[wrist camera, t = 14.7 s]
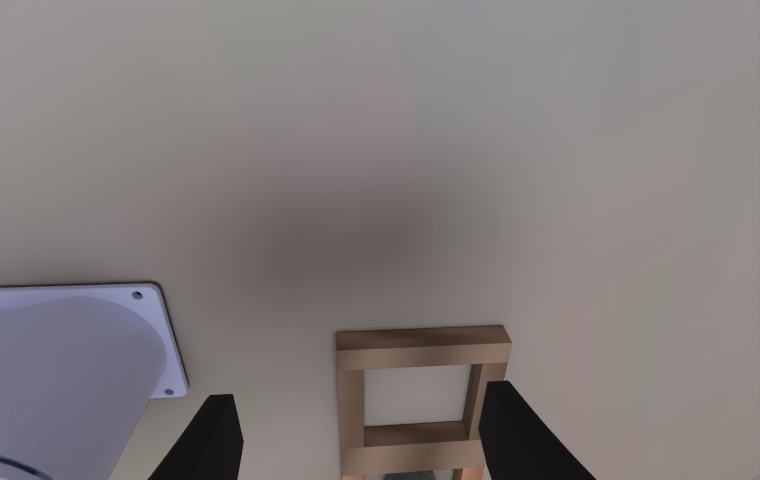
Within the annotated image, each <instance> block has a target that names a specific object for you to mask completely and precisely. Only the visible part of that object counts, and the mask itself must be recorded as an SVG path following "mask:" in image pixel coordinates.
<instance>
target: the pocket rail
mask: <svg viewBox="0 0 760 480" xmlns="http://www.w3.org/2000/svg"><path fill="white" fill-rule="evenodd" d="M511 345H512V342H511V340H510V338H509V336H508V334H507V332H506V330H505V329H504V327H503V326H480V327H457V328H433V329H409V330H385V331H361V332H337V337H336V357H337V378H338V400H339V421H340V442H341V463H342V480H364V475H374V474H388V473H402V472H416V471H431V470H445V469H454V475H453V480H481V479H482V474H483V470H484V465H485V461H486V460H485V456H484V452H483V448H482V443H481V439H480V435H479V430H478V426H479V421H480V416H481V411H482V406H483V401H484V396H485V391H486V386H487V382H488V381H504V377H505V372H506V368H507V363H508V359H509V354H510V350H511ZM461 364H472V369H471V375H470V381H469V386H468V392H467V398H466V404H465V410H464V416H463V421H457V422H441V423H424V424H408V425H391V426H375V427H364V374H363V369H381V368H401V367H421V366H441V365H461Z"/></svg>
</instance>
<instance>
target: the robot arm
mask: <svg viewBox="0 0 760 480" xmlns="http://www.w3.org/2000/svg"><path fill="white" fill-rule="evenodd" d="M135 291H137V292H140V293H141V294H142V295H139V294H137V293H136V292H135ZM170 389H171V390H170ZM187 391H188V383H187V380H186V377H185V373H184V370H183V366H182V363H181V360H180V356H179V353H178V349H177V346H176V343H175V339H174V336H173V332H172V329H171V326H170V322H169V319H168V315H167V312H166V309H165V305H164V302H163V298H162V295H161V292H160V290H159V288H158V287H157V286H156V285H153V284H149V283H143V284H111V285H79V286H47V287H15V288H0V480H108V479H109V477H110V475H111V473H112V471H113V469H114V467H115V465H116V463H117V461H118V459H119V457H120V456H121V454H122V452H123V450H124V448H125V446H126V444H127V442H128V440H129V438H130V436H131V434H132V432H133V430H134V429H135V427H136V425H137V423H138V421H139V419H140V417H141V415H142V413H143V411H144V409H145V407H146V405H147V403H148V401H149V400H150V398H169V397H182V396H184V395H186V393H187ZM478 430H479V435H480V439H481V443H482V448H483V452H484V456H485V460H486V464H487V467H488V470H489V473H490V476H491V479H492V480H596V479H595V478H594V477H593V476H592V475H591V474H590V472H589V471H588V470H587V469H586V468H585V467H584V466H583V465H582V464H581V463H580V462H579V461H578V460H577V459H576V458H575V457H574V456H573V455H572V454H571V453H570V452H569V450H568V449H567V448H566V447H565V446H564V445H563V444H562V443H561V442H560V440H559V439H558V438H557V437H556V436H555V435H554V434H553V433H552V432H551V430H550V429H549V428H548V427H547V426H546V425H545V424H544V422H543V421H542V420H541V419H540V418H539V417H538V415H537V414H536V413H535V412H534V411H533V409H532V408H531V407H530V406H529V405H528V404H527V402H526V401H525V400H524V399H523V397H522V396H521V395H520V394H519V393H518V391H517V390H516V389H515V388H514V387H513V385H512V384H511V383H510V382H509V381H488V382H487V386H486V391H485V396H484V401H483V406H482V411H481V416H480V421H479V426H478ZM243 443H244V441H243V437H242V432H241V428H240V423H239V419H238V414H237V410H236V406H235V401H234V397H233V394H222V395H210V396H209V397H208V398H207V399H206V400H205V402H204V403H203V405H202V406H201V408H200V409H199V411H198V412H197V413H196V415H195V416H194V418H193V419H192V421H191V422H190V424H189V425H188V426H187V428H186V429H185V431H184V432H183V433H182V435H181V436H180V437H179V439H178V440H177V442H176V443H175V444H174V446H173V447H172V448H171V450H170V451H169V452H168V454H167V455H166V456H165V458H164V459H163V460H162V462H161V463H160V464H159V466H158V467H157V468H156V469H155V471H154V472H153V473H152V475H151V476H150V477H149V478H148V480H237V478H238V473H239V467H240V461H241V455H242V449H243Z"/></svg>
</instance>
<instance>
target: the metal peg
mask: <svg viewBox="0 0 760 480" xmlns="http://www.w3.org/2000/svg"><path fill="white" fill-rule="evenodd" d="M383 480H435V476H434V473H433V471H432V470H431V471H416V472H402V473H388V474H386V475H385V477H384V479H383Z"/></svg>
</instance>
